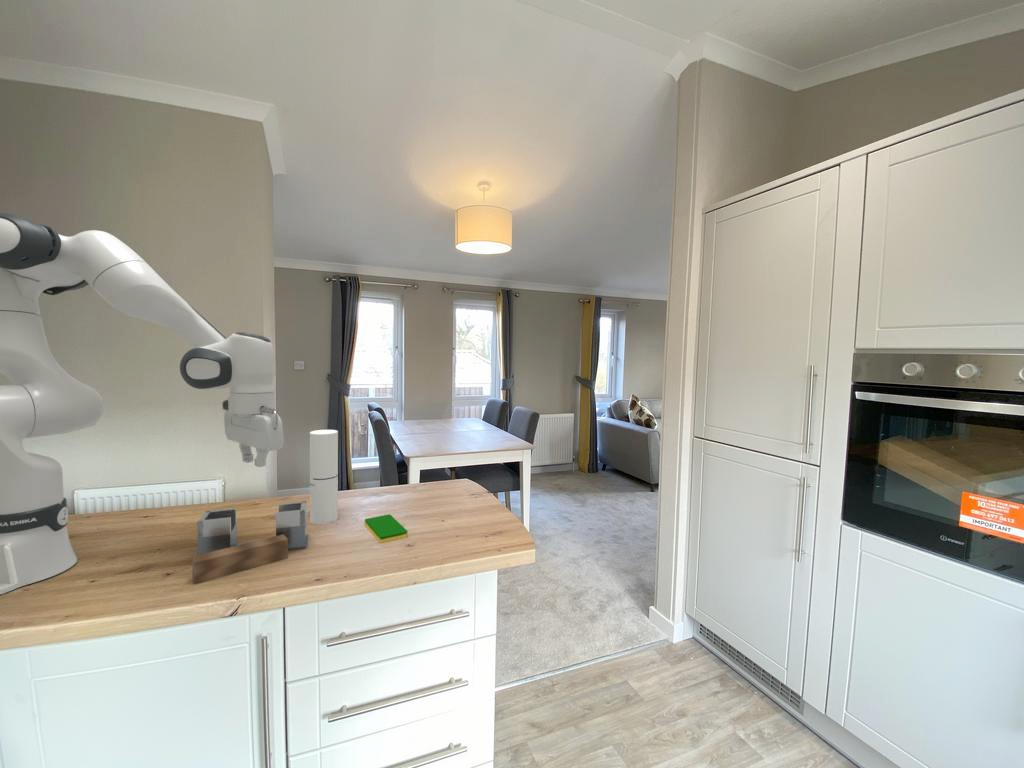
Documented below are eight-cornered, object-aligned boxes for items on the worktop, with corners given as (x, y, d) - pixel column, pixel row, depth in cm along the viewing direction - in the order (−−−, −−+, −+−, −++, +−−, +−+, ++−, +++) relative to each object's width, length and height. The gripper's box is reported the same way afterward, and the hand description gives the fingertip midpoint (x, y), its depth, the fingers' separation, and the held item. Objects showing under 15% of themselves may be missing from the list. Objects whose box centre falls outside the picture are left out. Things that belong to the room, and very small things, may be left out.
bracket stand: (195, 565, 92) (194, 522, 92) (204, 551, 99) (203, 511, 98) (307, 549, 101) (307, 510, 100) (308, 537, 107) (308, 500, 107)
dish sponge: (380, 546, 104) (380, 537, 104) (364, 527, 116) (364, 518, 115) (408, 540, 108) (408, 531, 108) (389, 522, 120) (389, 513, 119)
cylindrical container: (327, 526, 115) (327, 435, 113) (304, 523, 116) (303, 433, 114) (343, 516, 122) (343, 430, 120) (321, 513, 123) (320, 429, 121)
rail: (195, 587, 84) (194, 562, 84) (192, 580, 87) (192, 556, 86) (287, 560, 96) (287, 539, 96) (283, 555, 98) (283, 534, 98)
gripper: (291, 407, 93) (291, 469, 94) (247, 399, 104) (247, 454, 105) (261, 410, 88) (262, 475, 89) (218, 401, 99) (219, 459, 100)
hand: (253, 464), depth 97 cm, fingers open, 4 cm apart
